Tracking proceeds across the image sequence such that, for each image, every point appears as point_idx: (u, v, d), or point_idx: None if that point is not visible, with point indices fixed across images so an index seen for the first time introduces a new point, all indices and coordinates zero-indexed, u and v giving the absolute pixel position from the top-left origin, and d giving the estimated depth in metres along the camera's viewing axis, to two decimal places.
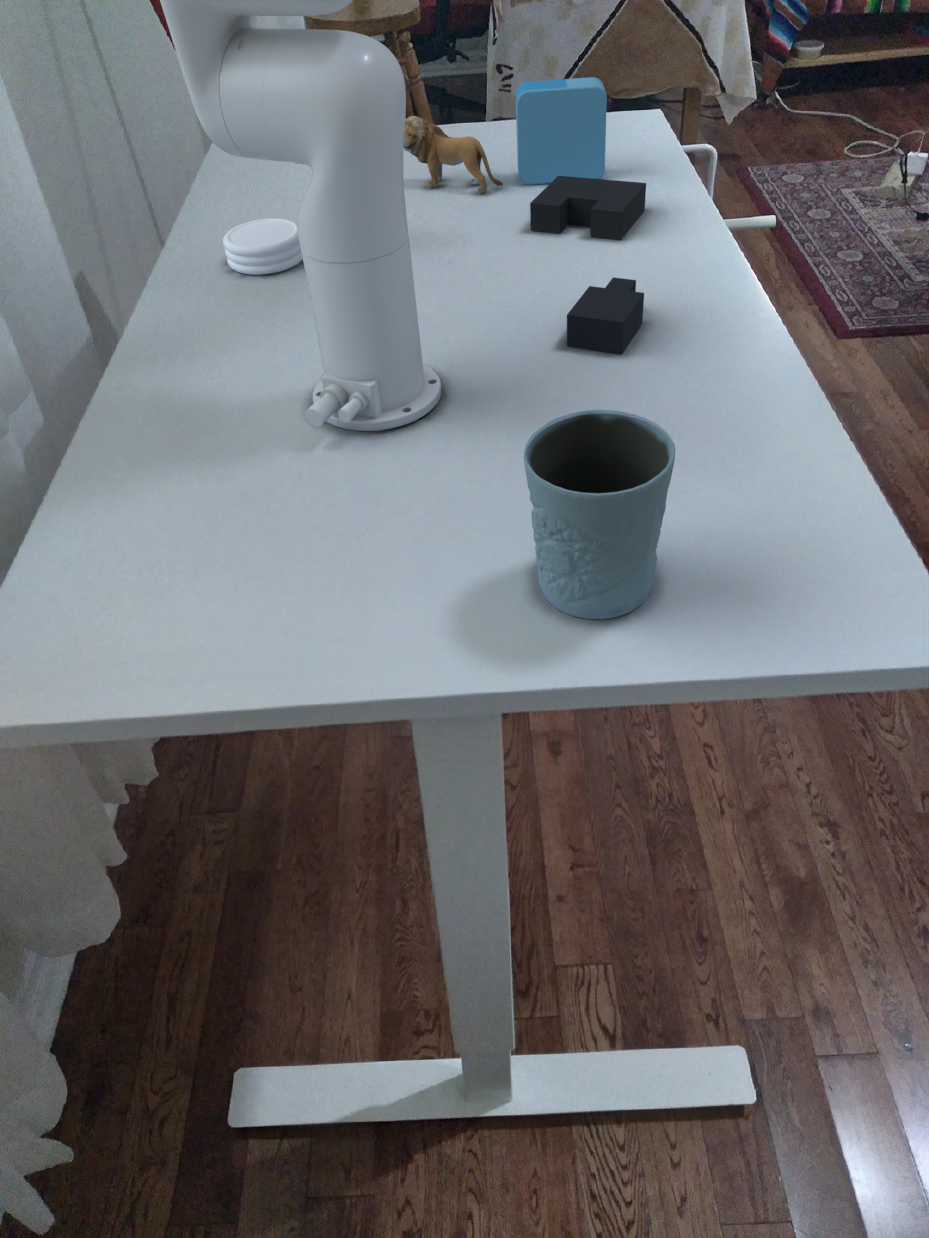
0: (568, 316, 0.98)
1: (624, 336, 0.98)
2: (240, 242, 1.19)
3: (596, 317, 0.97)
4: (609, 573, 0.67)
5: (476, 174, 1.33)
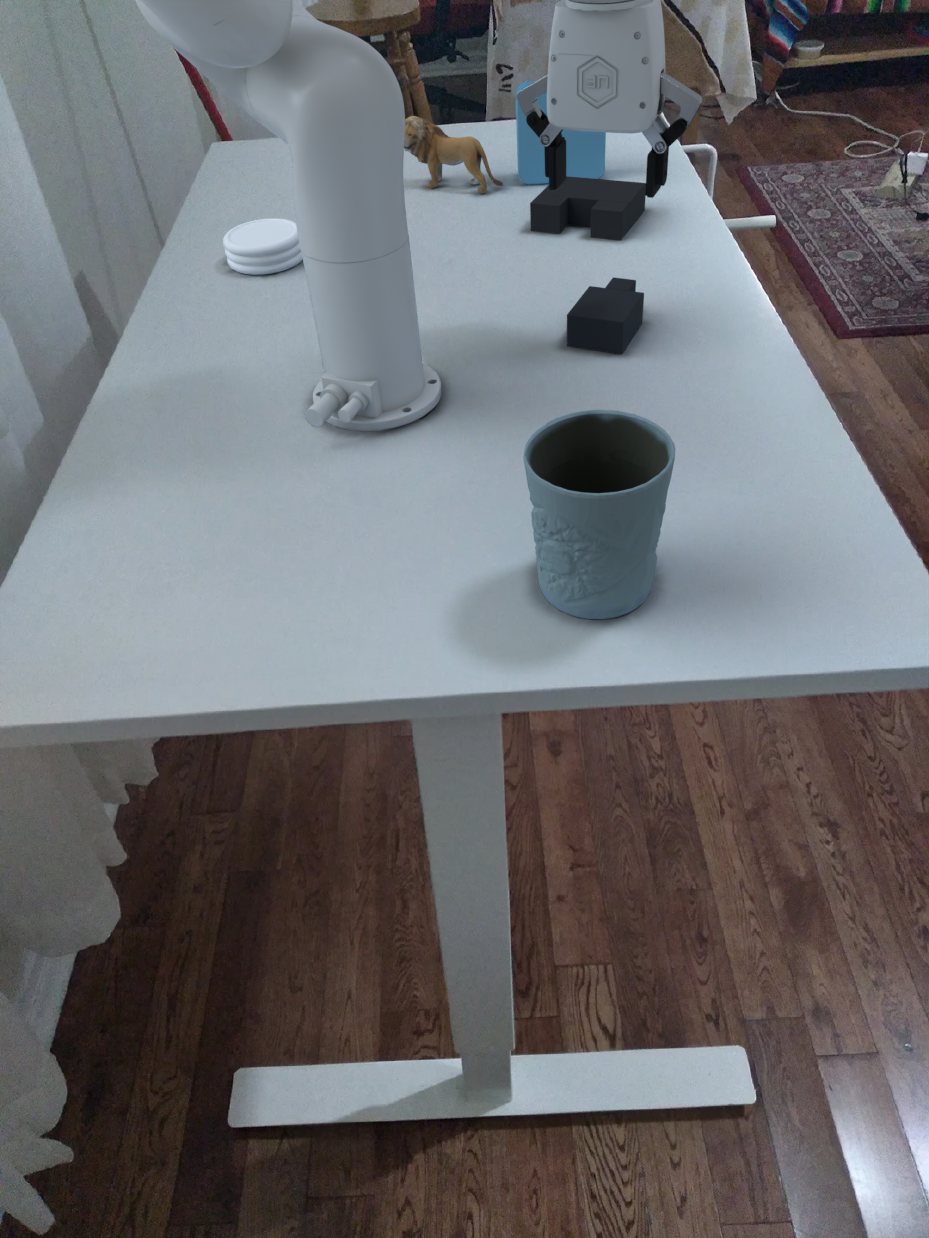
0: (568, 316, 0.98)
1: (624, 336, 0.98)
2: (240, 242, 1.19)
3: (596, 317, 0.97)
4: (609, 573, 0.67)
5: (476, 174, 1.33)
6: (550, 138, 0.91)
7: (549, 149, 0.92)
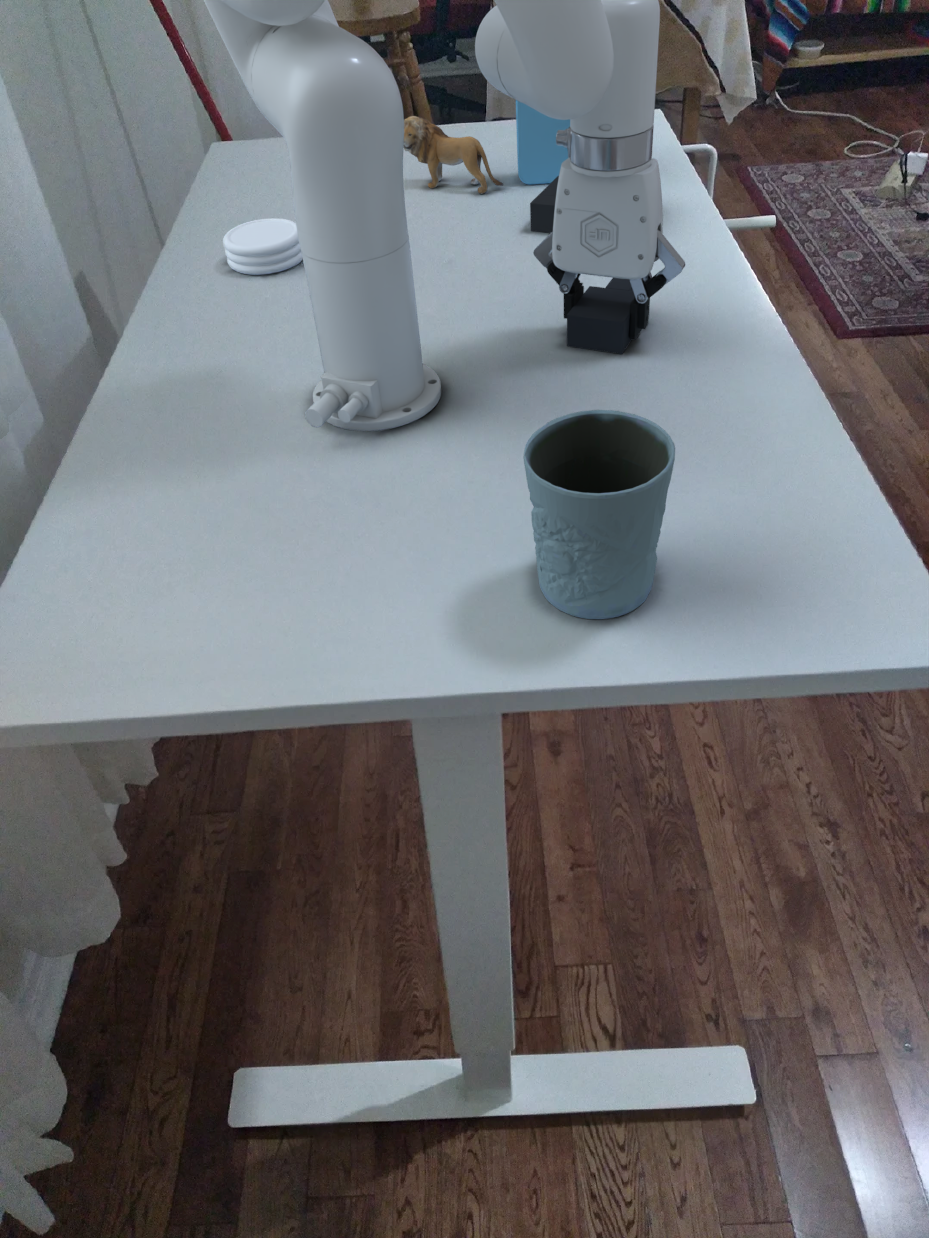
0: (568, 316, 0.98)
1: (624, 336, 0.98)
2: (240, 242, 1.19)
3: (596, 317, 0.97)
4: (609, 573, 0.67)
5: (476, 174, 1.33)
6: (569, 287, 0.98)
7: (568, 296, 0.99)
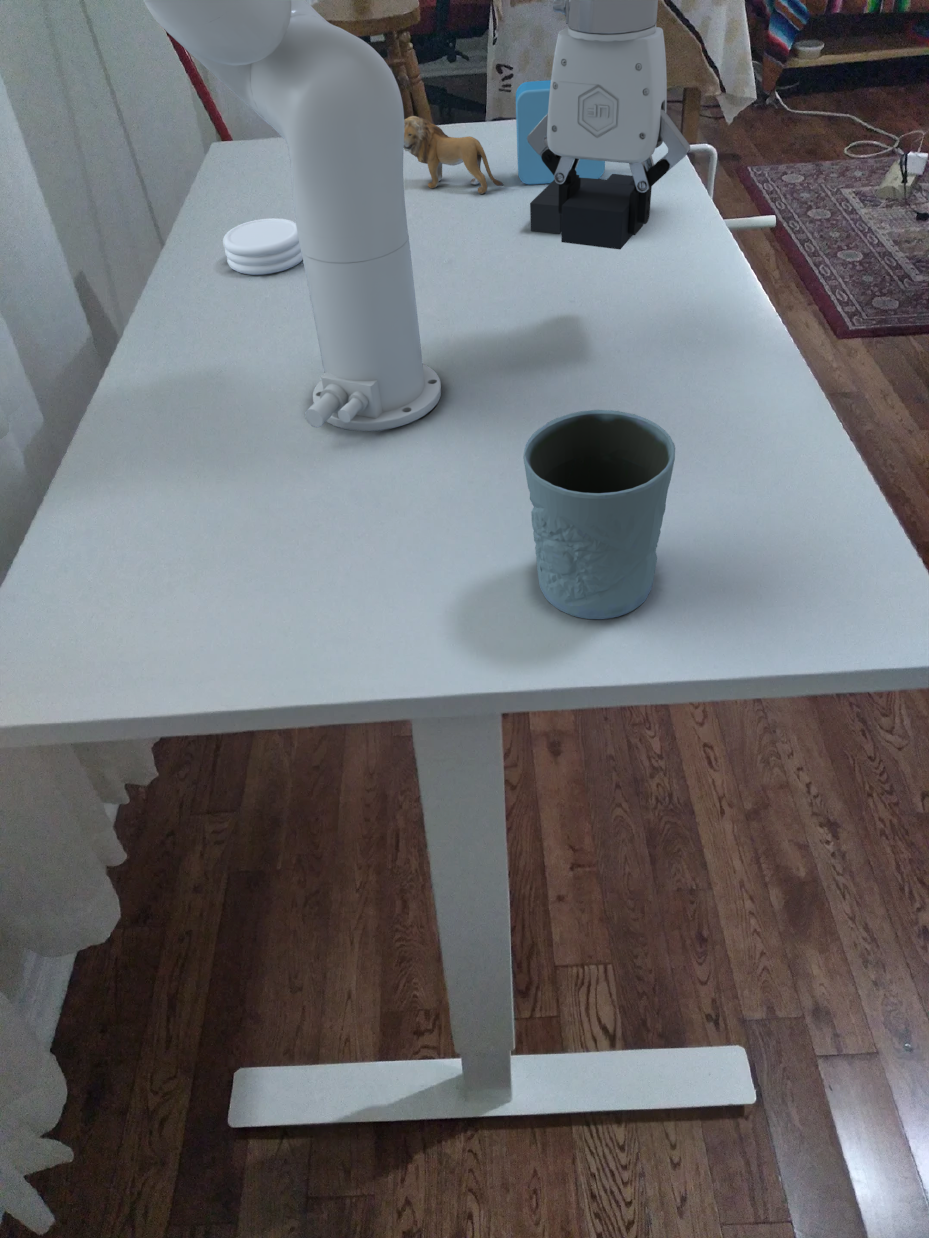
0: (563, 208, 0.91)
1: (623, 229, 0.91)
2: (240, 242, 1.19)
3: (593, 207, 0.90)
4: (609, 573, 0.67)
5: (476, 174, 1.33)
6: (565, 176, 0.91)
7: (563, 187, 0.92)
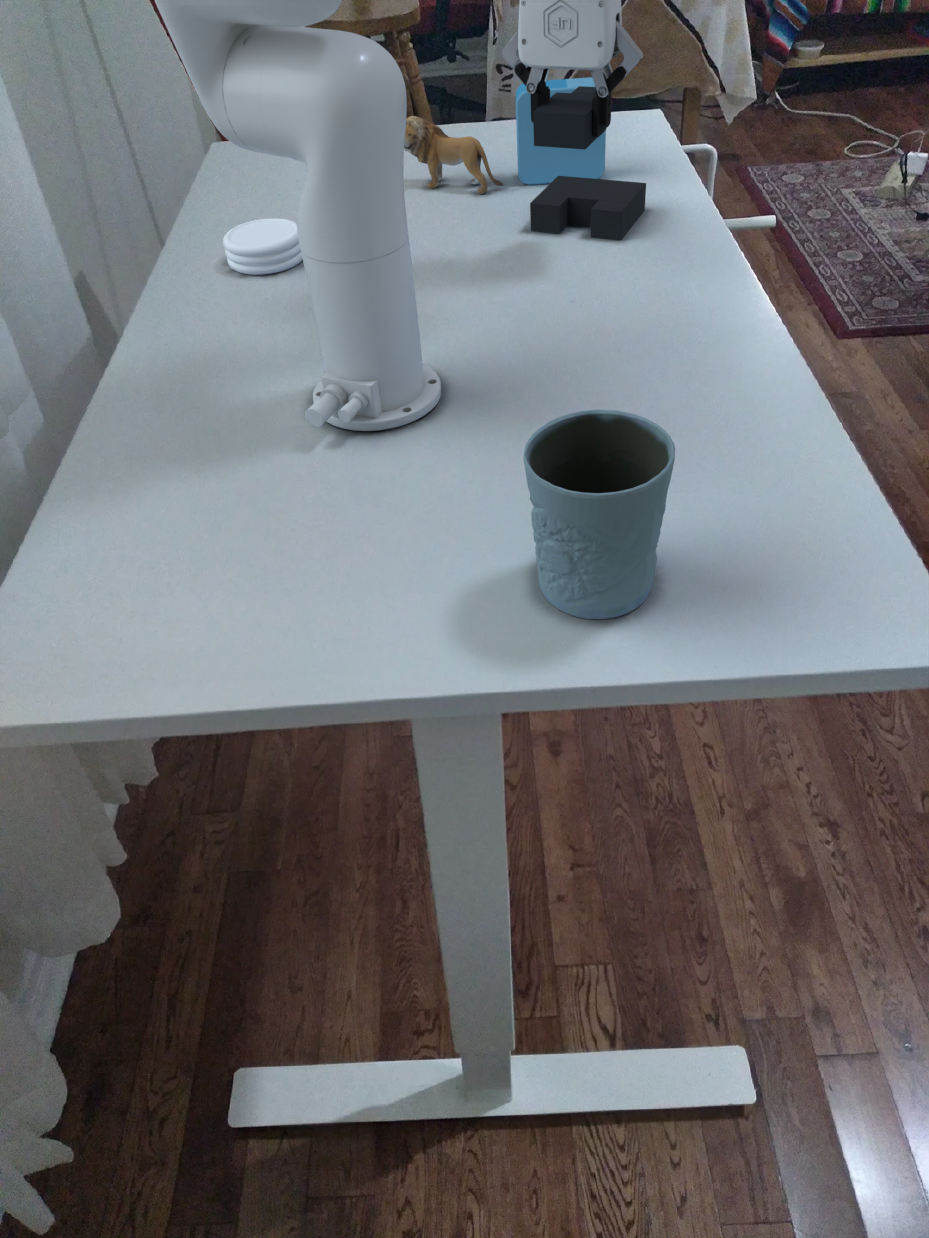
0: (534, 114, 1.04)
1: (587, 131, 1.03)
2: (240, 242, 1.19)
3: (560, 112, 1.03)
4: (609, 573, 0.67)
5: (476, 174, 1.33)
6: (535, 86, 1.04)
7: (534, 96, 1.04)
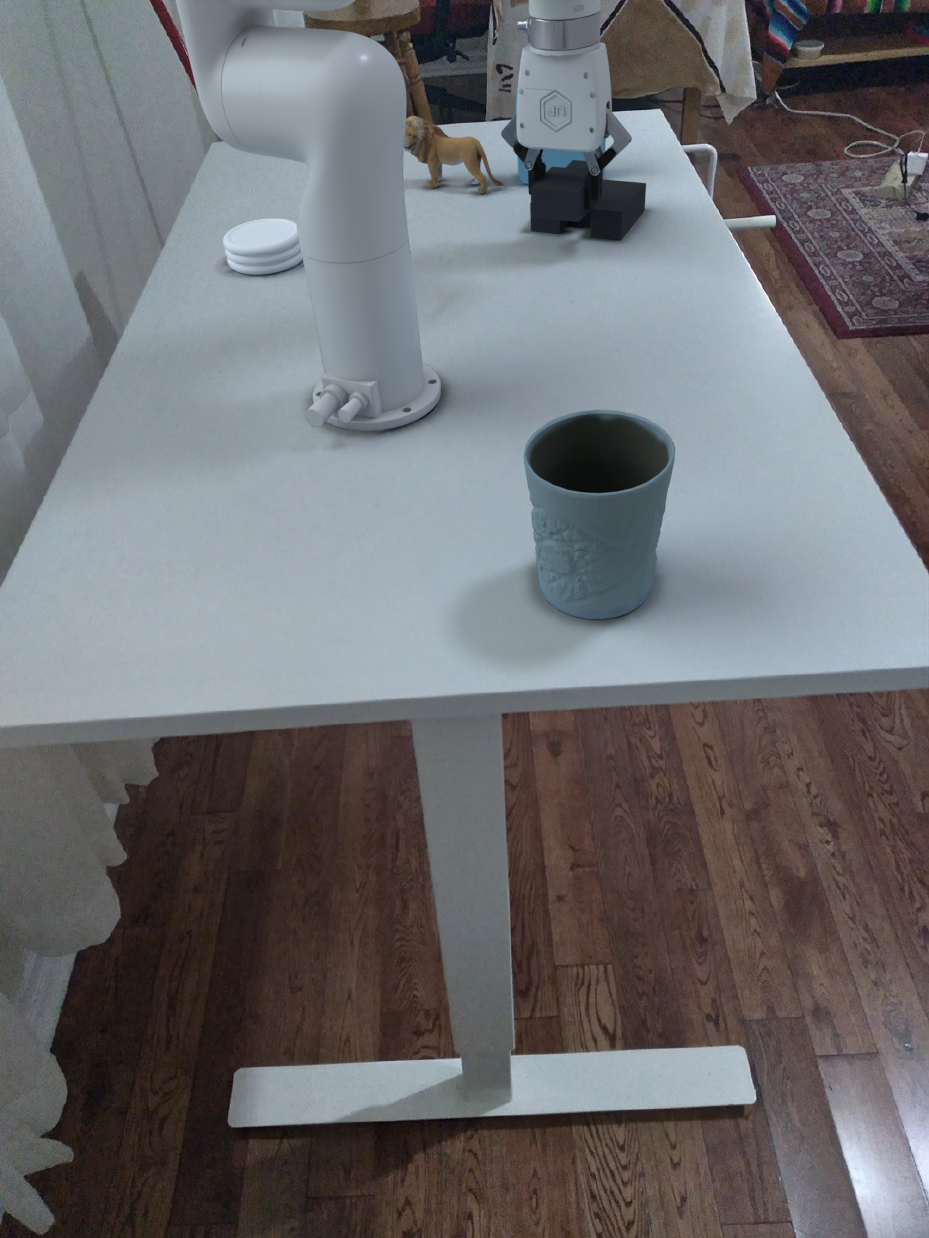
0: (532, 189, 1.12)
1: (580, 205, 1.12)
2: (240, 242, 1.19)
3: (556, 188, 1.11)
4: (609, 573, 0.67)
5: (476, 174, 1.33)
6: (532, 164, 1.13)
7: (531, 173, 1.13)
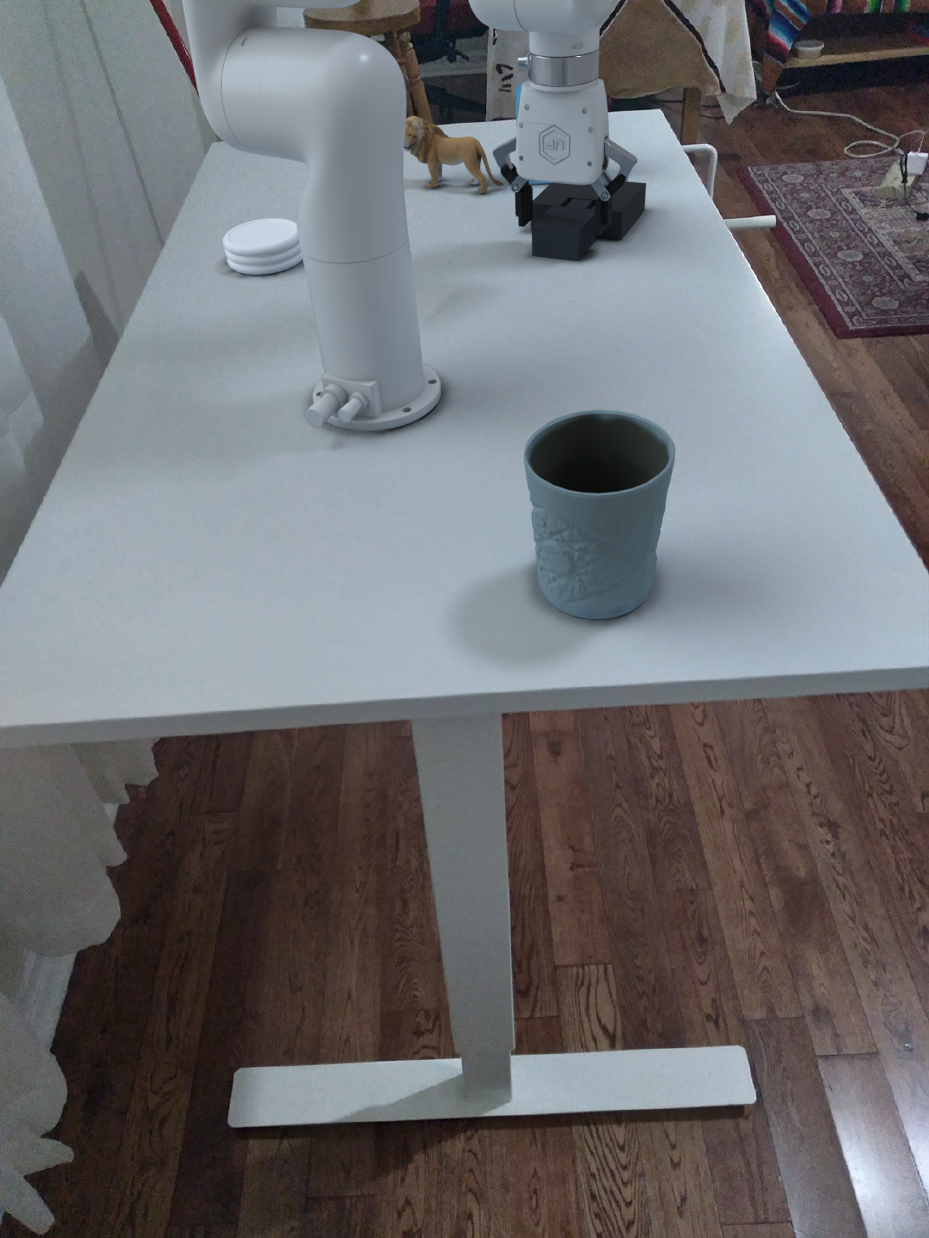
0: (533, 228, 1.15)
1: (580, 245, 1.15)
2: (240, 242, 1.19)
3: (556, 228, 1.15)
4: (609, 573, 0.67)
5: (476, 174, 1.33)
6: (519, 186, 1.14)
7: (518, 195, 1.15)
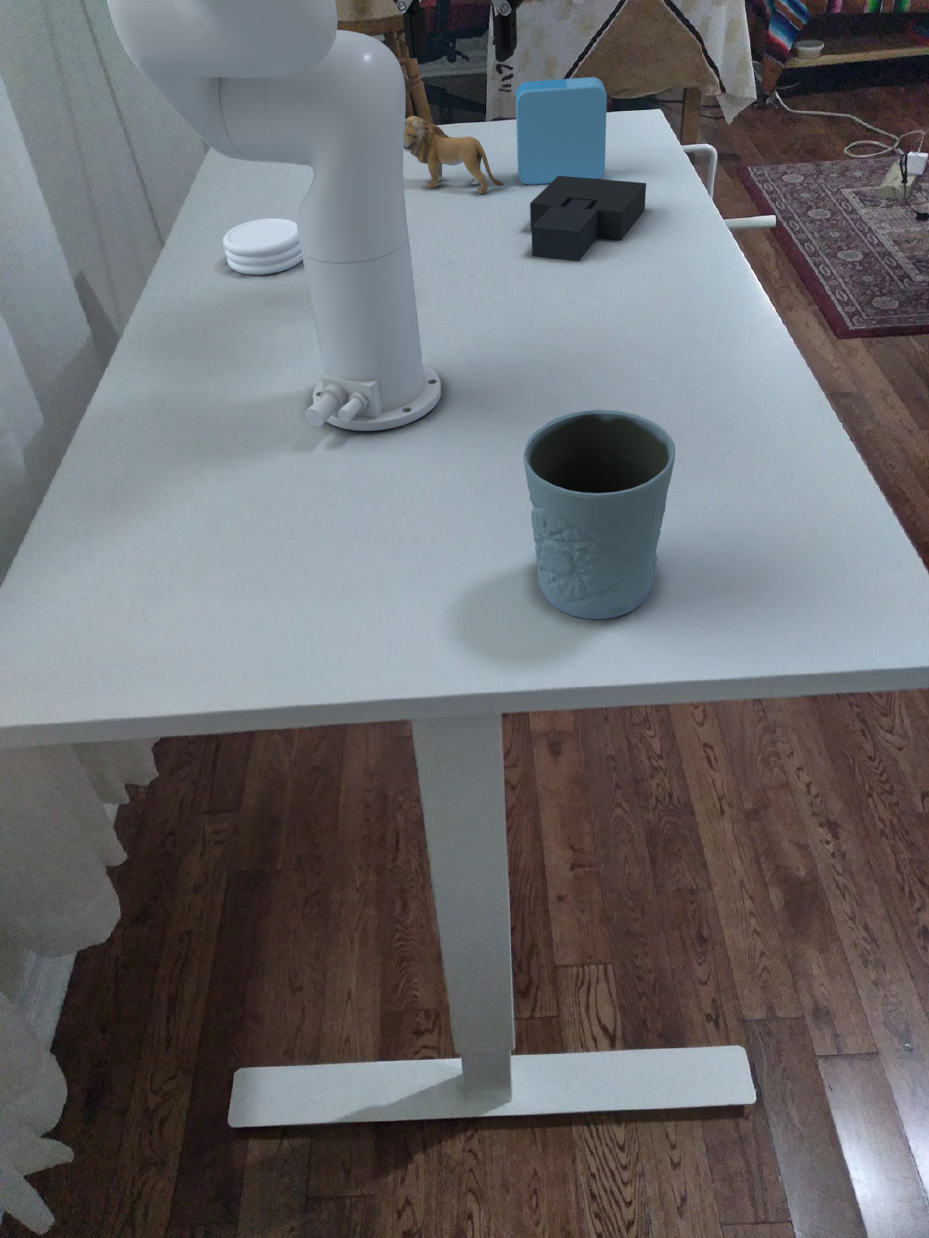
0: (533, 228, 1.15)
1: (580, 245, 1.15)
2: (240, 242, 1.19)
3: (556, 228, 1.15)
4: (609, 573, 0.67)
5: (476, 174, 1.33)
6: (406, 4, 0.96)
7: (405, 16, 0.96)
